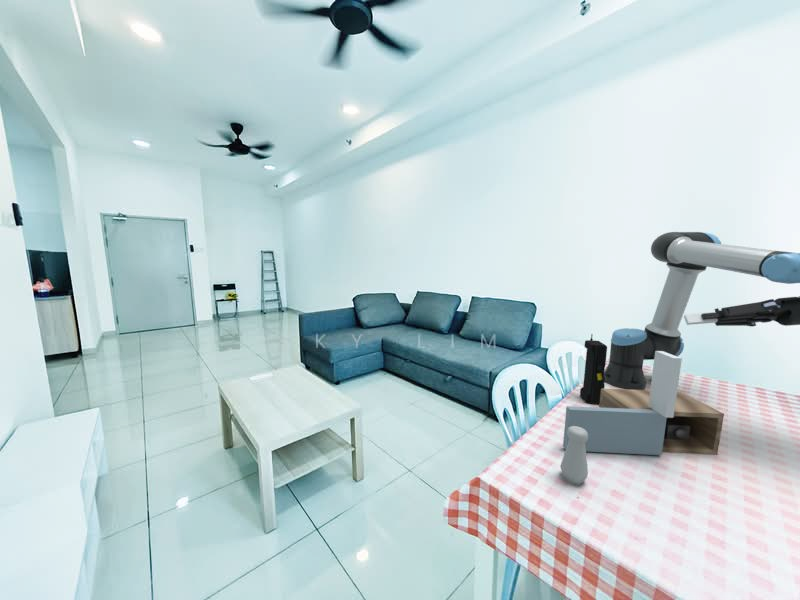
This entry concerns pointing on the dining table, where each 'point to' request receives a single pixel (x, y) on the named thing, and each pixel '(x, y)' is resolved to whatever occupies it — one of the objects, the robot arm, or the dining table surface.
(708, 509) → the dining table surface
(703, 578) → the dining table surface
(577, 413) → the sliding door
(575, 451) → the salt shaker
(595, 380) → the portable radio
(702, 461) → the dining table surface
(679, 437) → the wooden cabinet
